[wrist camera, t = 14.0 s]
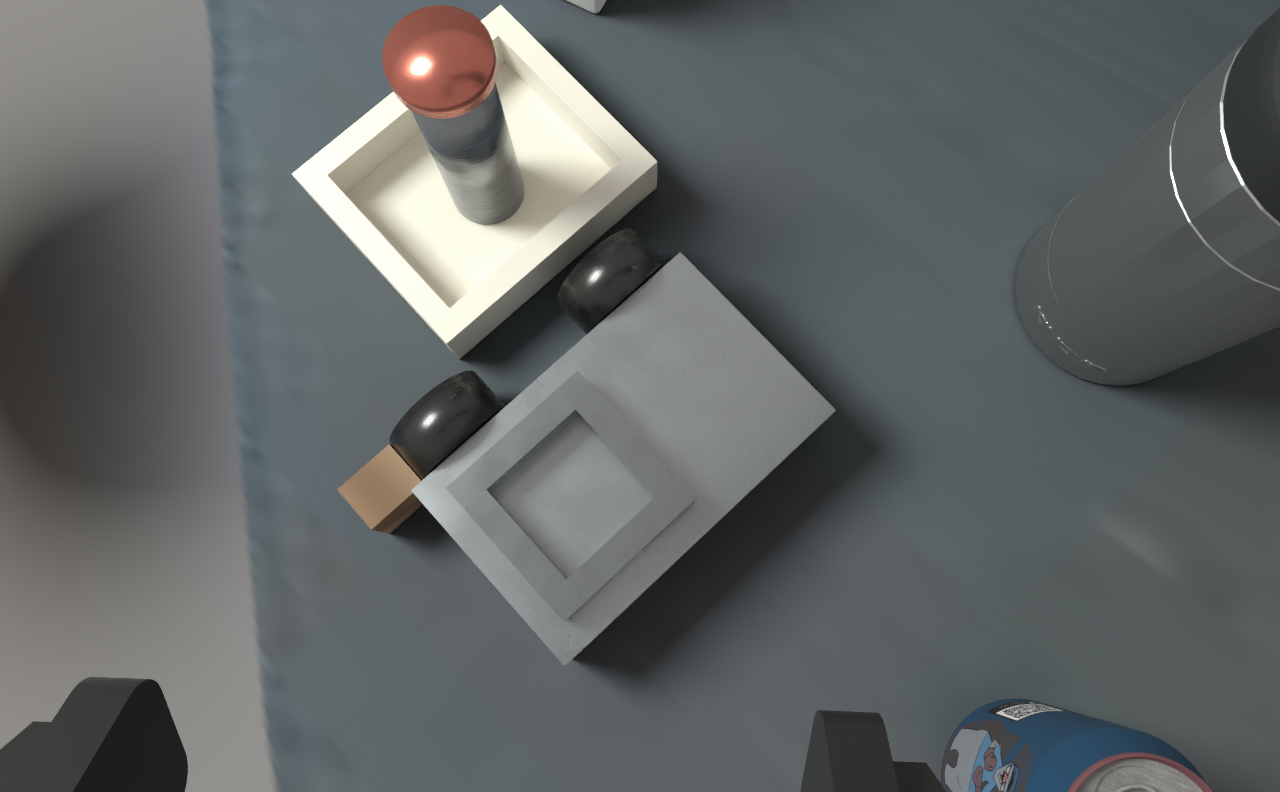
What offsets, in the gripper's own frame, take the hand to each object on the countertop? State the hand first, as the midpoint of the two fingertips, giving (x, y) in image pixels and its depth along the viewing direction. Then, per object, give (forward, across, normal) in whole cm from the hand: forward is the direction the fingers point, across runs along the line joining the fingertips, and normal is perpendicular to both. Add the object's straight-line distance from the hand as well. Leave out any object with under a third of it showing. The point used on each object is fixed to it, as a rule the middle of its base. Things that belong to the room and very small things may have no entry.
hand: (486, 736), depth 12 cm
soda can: (+19, -18, +27) cm, 38 cm away
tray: (+38, +7, +8) cm, 40 cm away
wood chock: (+27, +10, +19) cm, 35 cm away
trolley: (+29, 0, +17) cm, 34 cm away
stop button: (+38, +7, +8) cm, 39 cm away
